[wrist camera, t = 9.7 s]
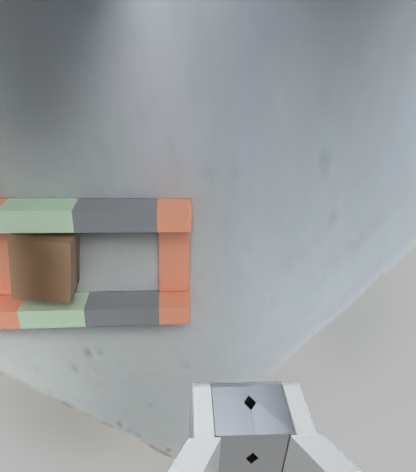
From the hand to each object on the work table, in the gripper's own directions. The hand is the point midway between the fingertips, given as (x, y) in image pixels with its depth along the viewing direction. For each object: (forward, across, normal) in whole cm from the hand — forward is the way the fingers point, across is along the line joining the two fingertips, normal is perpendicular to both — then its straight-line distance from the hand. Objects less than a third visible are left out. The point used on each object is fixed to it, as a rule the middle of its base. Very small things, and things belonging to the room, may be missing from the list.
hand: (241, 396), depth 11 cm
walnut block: (+26, +14, +10) cm, 31 cm away
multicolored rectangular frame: (+25, +11, +11) cm, 30 cm away
